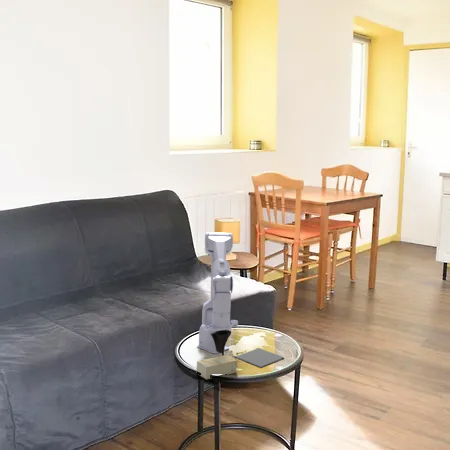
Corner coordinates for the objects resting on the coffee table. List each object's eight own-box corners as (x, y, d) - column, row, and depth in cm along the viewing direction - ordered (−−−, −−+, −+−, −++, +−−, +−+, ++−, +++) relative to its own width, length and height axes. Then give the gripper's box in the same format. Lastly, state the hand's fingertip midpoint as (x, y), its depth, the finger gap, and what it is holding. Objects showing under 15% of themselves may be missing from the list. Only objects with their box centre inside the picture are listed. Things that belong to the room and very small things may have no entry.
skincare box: (237, 360, 192) (207, 367, 185) (236, 373, 192) (206, 380, 185) (226, 354, 197) (196, 360, 190) (226, 366, 197) (196, 373, 190)
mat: (235, 357, 205) (235, 356, 205) (258, 349, 214) (258, 348, 214) (260, 367, 197) (260, 366, 197) (284, 358, 206) (284, 357, 206)
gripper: (214, 319, 178) (212, 360, 180) (245, 310, 188) (243, 349, 190) (198, 313, 183) (197, 354, 185) (229, 305, 193) (228, 344, 195)
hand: (219, 351), depth 188 cm, fingers closed
